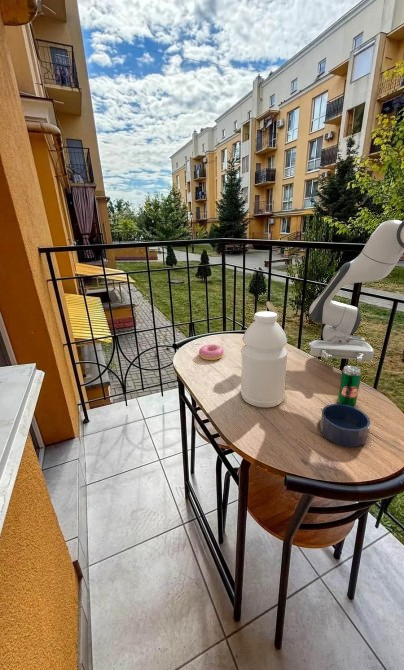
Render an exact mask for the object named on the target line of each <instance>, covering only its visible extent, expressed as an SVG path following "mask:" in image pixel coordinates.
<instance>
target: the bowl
mask: <svg viewBox="0 0 404 670" xmlns="http://www.w3.org/2000/svg"><path fill="white" fill-rule="evenodd" d="M370 427H371V419H370V418H369V416H368V414H366V413H365V412H364V411H363V410H361V409H359V408H357V407H355V406H354V407H352V406H349V405H344V404H339V403H331V404H327V405H325V406H324V407H323V408H322V409H321V414H320V423H319V430H320V432H321V434H322V436H324V438H326V439H327V440H328V441H330V442H332V443H334V444H336V445H338V446H341V447H345V448H346V447H347V448H358V447H361V446H363V445H364V444H366V443H367V441H368V437H369V432H370Z"/></svg>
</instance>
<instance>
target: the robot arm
mask: <svg viewBox="0 0 404 670" xmlns="http://www.w3.org/2000/svg"><path fill="white" fill-rule="evenodd" d="M403 254H404V219H403V220H398V219H389V220H385V221H384V222H382V223H380V224H379V225H378V226H377V228H376V229H375V230H374V231H373V232H372V234H371V235H370V237H369V239H368V240H367V241H366V243H365V245H364V247H363V249H361V252H360V253H359V254H358V255H357V256H356V257H355V258H354V259H353V260H351V261H347V262H345V263H344V264H342V265H341V266H340V268H339V269H338V270H337V271H336V272H335V274H334V275H333V276H332V278H331V279H330V280H329V282H328V283H327V284H326V286H325V287H324V289H323V290H322V291H321V293H320V294H319V295H318V296H317V297H316V298H315V300H313V302H312V303H311V305H310V306H309V309H308V316H309V318H310V320H311V321H312V322H313V323H316V324H321V325H322V324H323V325H324V326H323V329H322V339H323V340H312V341H311V342H310V341H309V343H308V347H309V348H310V350H309V351H310V352H309V353H310V355H311V356H312V357H321V358H323V359H325V361H332V359H331V358H333V359H346V360H355V362H356V364H362V363H363V361H368V362H371V361H372V360H373V359H374V356H375V350H374V348H373V347H372V346H371V345H370V344H369V343H368V342H366V339H365V338H364V337H362V336H356V335H353V334H355V333H356V331H357V330H358V329H359V327H360V325H361V322H362V315H361V310H360V309H359V308H358V307H357V306H354V305H352V304H351V305H350V304H347V303H343V302H339V301H335V300H333V298H334V297H335V296H336V295H337V293H338V292H339V291H340V290H341V289H342V288H343V287H345V286H347V285H350V284H357V283H373V282H377V281H381V280H383V279H385V278H386V277H388V276H389V275H390V274H391V272H392V271H393V270H394V269H395V267H396V265H397V264H398V262H399V261H400V259H401V258H402V256H403Z"/></svg>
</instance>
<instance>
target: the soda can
mask: <svg viewBox="0 0 404 670" xmlns="http://www.w3.org/2000/svg"><path fill="white" fill-rule="evenodd" d="M361 378H362V372H361V368H359V367H358V366H355V365H345V366H344V367H343V369H342V370H341V374H340V381H339V387H338V395H337V402H338V403H337V404H344V405H349V406H352V407H355V406H356V405H357V401H358V395H359V391H360V390H359V389H360V385H361V384H360V383H361Z"/></svg>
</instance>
